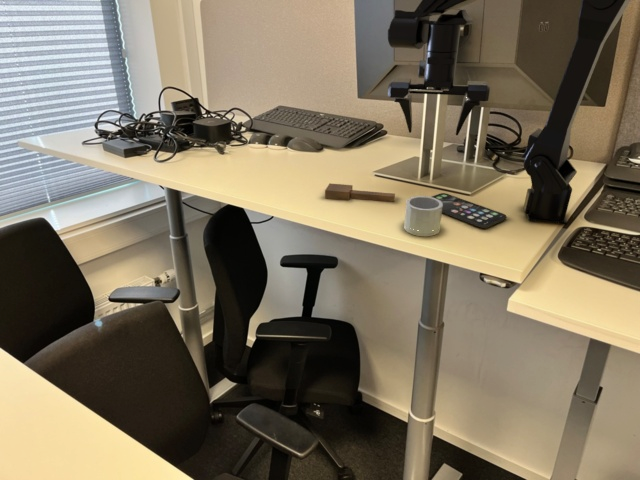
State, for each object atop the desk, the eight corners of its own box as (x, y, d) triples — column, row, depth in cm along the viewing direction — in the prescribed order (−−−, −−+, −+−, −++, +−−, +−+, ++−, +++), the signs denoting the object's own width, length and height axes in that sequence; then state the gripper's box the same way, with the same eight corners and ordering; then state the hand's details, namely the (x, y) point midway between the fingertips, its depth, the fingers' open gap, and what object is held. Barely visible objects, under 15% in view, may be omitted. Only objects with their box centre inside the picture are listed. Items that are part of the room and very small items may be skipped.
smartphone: (443, 192, 96) (508, 215, 86) (442, 195, 97) (507, 218, 86) (419, 201, 92) (484, 226, 82) (418, 204, 93) (484, 229, 82)
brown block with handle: (395, 196, 96) (395, 188, 96) (393, 204, 93) (393, 195, 92) (329, 191, 99) (329, 183, 99) (325, 198, 96) (325, 190, 95)
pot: (440, 222, 85) (443, 197, 83) (439, 238, 80) (442, 211, 78) (405, 219, 87) (408, 194, 84) (402, 234, 81) (404, 208, 79)
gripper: (491, 47, 92) (479, 126, 99) (396, 45, 96) (391, 121, 103) (495, 53, 82) (482, 140, 90) (390, 51, 87) (385, 134, 94)
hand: (433, 133), depth 94 cm, fingers open, 9 cm apart
